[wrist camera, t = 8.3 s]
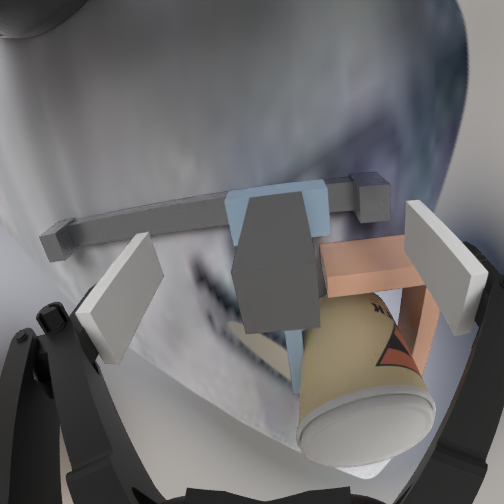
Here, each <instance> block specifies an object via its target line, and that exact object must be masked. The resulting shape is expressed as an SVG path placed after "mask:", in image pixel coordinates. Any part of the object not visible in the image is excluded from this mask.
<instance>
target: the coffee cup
mask: <svg viewBox="0 0 504 504" xmlns="http://www.w3.org/2000/svg"><path fill="white" fill-rule="evenodd" d="M319 307H320V328H311V329H304V330H305V331H303V350H304V353H303V356H302V366H301V387H300V411H299V426H298V428H297V433H296V440H297V444H298V446H299V448H300V449H301V451H302V453H303V454H304V456H305V457H306V458H308V459H309V460H310V461H312V462H314V463H317V464H320V465H324V466H330V467H357V466H363V465H369V464H373V463H377V462H381V461H384V460H387V459H389V458H392V457H395V456H397V455H399V454H401V453H403V452H405V451H407V450H408V449H410V448H412V447H413V446H415V445H416V444H417V443H419V442H420V441H421V440H422V439H423V438H424V437H425V436H426V435H427V434H428V433H429V431H430V430H431V428H432V426H433V423H434V416H435V413H436V407H435V402H434V400H433V398H432V396H431V395H430V394H429V393H428V391H427V389H426V386H425V384H424V381H423V379H422V377H421V374H420V372H419V370H418V368H417V366H416V363H415V361H414V359H413V357H412V355H411V353H410V351H409V349H408V347H407V345H406V343H405V341H404V339H403V337H402V335H401V333H400V331H399V329H398V327H397V325H396V323H395V321H394V319H393V317H392V315H391V313H390V312H389V310H388V308H387V306H386V305H385V303H384V302H383V300H382V299H381V298H380V297H379V296H378V295H376V294H375V293H374V292H371V293H364V294H356V295H348V296H340V297H331V298H328V294H326V295H324V296H323V297H321V298H320V299H319Z"/></svg>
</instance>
